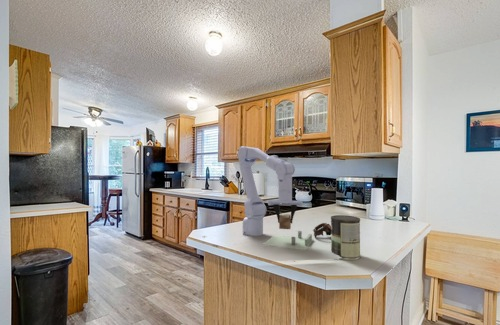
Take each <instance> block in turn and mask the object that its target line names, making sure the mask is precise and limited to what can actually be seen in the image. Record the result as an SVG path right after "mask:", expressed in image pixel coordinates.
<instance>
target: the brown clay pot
mask: <svg viewBox="0 0 500 325" xmlns="http://www.w3.org/2000/svg"><path fill="white" fill-rule="evenodd" d="M312 231H313V236H314V237H315V238H317V237H318V236H324V232H325V235H326V236H331V224H329V223H327V222H322V223H319V224H318V225H316V226H315V227H314V229H312Z"/></svg>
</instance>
